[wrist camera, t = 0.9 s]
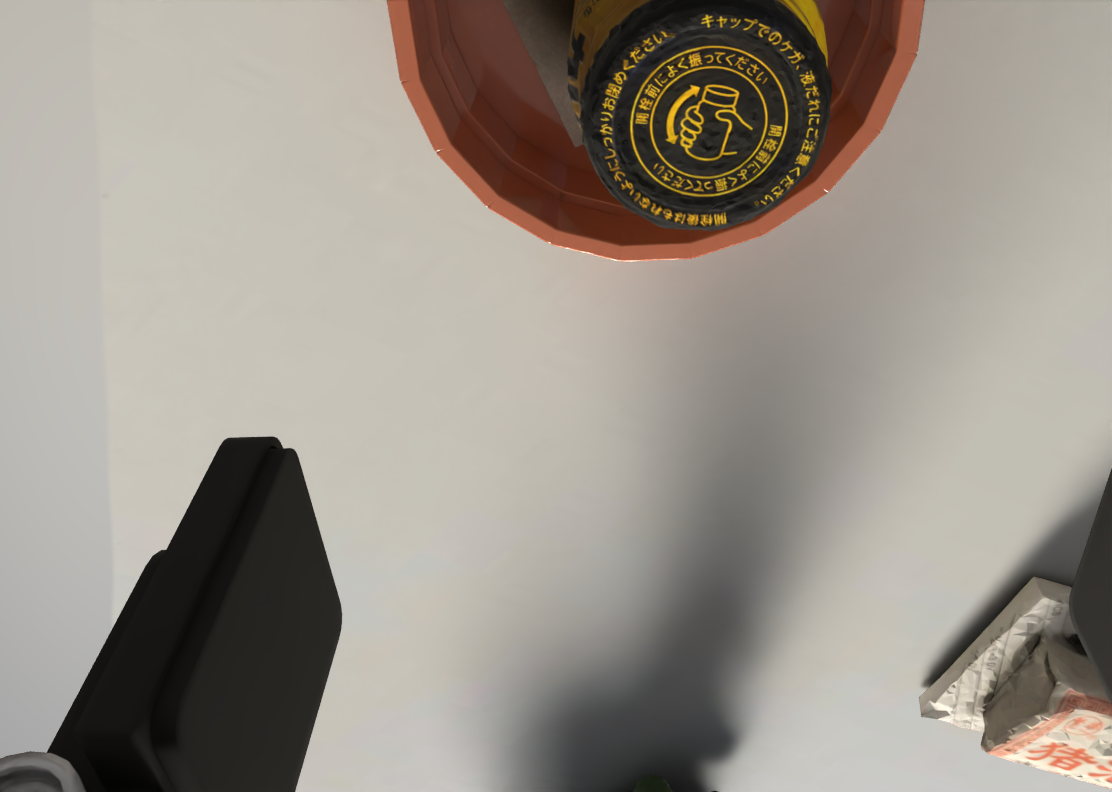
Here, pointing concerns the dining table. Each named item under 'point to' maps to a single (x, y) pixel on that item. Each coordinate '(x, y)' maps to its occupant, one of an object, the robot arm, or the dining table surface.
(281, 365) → the dining table surface
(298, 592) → the robot arm
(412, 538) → the dining table surface
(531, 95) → the dish
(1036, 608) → the packaged product
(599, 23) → the condiment
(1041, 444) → the dining table surface
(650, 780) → the toy figurine
